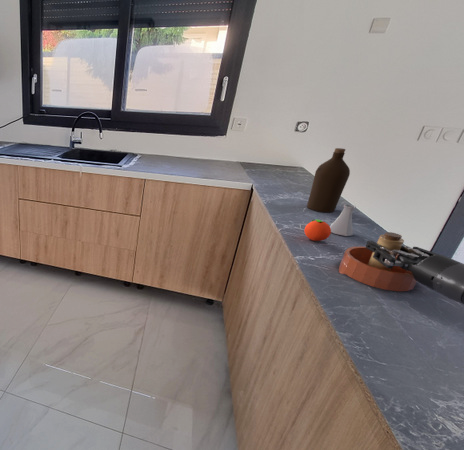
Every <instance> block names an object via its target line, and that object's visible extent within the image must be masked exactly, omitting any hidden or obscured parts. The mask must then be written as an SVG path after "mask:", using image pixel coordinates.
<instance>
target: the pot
mask: <svg viewBox="0 0 464 450" xmlns="http://www.w3.org/2000/svg"><path fill="white" fill-rule="evenodd" d="M372 253H373V251H371V250H369V249H367V248H366V246H364V245H363V246H362V245H361V246H357V245H356V246H351V247H347V249H345V250H344V253H343V255H342V258H341V261H340V263H339V266H338V272H339V274H341V275H346V276H348V277H349V278H351V279H353V280H354V281H357V282H359V283H362V284H364V285H368V286H370V287H373V288H377V289H382V290H384V291H394V292H408V291H411V290H414V288H415V286H416V285H417V283H418V282H417V281H416V280H415V279H414V277H413V274H412V272H411V271H407V270H405V269H402V268H401V267H400V266H393V268H392V269H391V270H390V271H387V270H382V269H378V268H375V267H372V266H369V265H368V263H369V260H370V258H371V256H372ZM398 255H399V254H398ZM398 255H397V257H398ZM397 257H396V259H397Z"/></svg>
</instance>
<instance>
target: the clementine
mask: <svg viewBox="0 0 464 450" xmlns="http://www.w3.org/2000/svg"><path fill="white" fill-rule="evenodd" d="M303 230H304V235H305V236H306V238H308V239H309V240H310V241H313V242H322V241H325V240H327V239H328V238H329V237H330V236H331V234H332V232H331V228H330V225H329V224H328V223H327V222H326V221H323V220H321V219H312V220H311V221H310V222H308V223H307V224H306V225H305V227H304V229H303Z"/></svg>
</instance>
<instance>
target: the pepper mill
mask: <svg viewBox="0 0 464 450" xmlns="http://www.w3.org/2000/svg"><path fill="white" fill-rule="evenodd" d="M402 236H403V235H402V234H400V233H396V232H391V231H387V232H385V233H384V234H380V235H379V237H378V239H377V242H376V243H377V244H379V245H382V246H384V247H386V248H389V249H391V250H395V249H397V250H400V249H401V247H402V245H403V246H404V243H405V240H404V238H403V237H402ZM374 253H375V252H373V253H372V256H371V258H370V260H369V263H368V265H369V266H372V267H375V268H378V269H382V270H387V271H390V270H391V269H390V268H387V267H385V266H384V265H382V264H381V263H380V262H378V261H377V260H376V259H374V258H373V255H374ZM387 253H388V254H390V253H389V252H387ZM397 255H398V254H397ZM397 255H396V257H397ZM395 259H396V258H395Z"/></svg>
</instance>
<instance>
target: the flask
mask: <svg viewBox="0 0 464 450" xmlns="http://www.w3.org/2000/svg"><path fill="white" fill-rule="evenodd" d="M356 208H357V207H356V205H353V204H347V203H346V204H343V209H342V211H341V213H340V214H339V215H338V217H336V219H335V220H334V221H333V222H332V223H331V224H330V225H329V226H330V228H331V234H332V233H333V234H334V235H338V236H339V235H340V236H342V237H343V236H344V237H349V236H353V235H354V228H353V212H354V210H355V209H356Z"/></svg>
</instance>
